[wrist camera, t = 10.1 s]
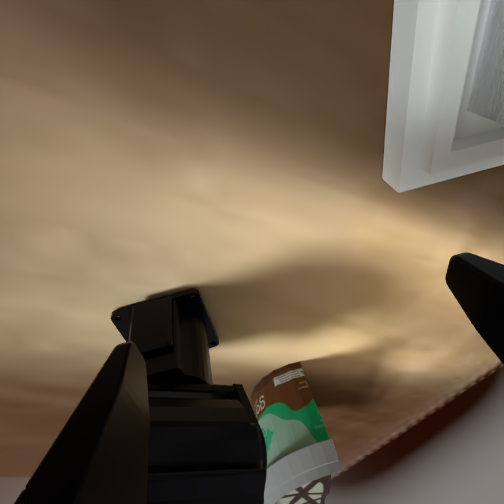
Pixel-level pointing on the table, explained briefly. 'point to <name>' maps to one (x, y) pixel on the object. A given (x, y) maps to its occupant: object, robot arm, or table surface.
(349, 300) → the table surface
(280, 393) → the food container
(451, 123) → the white rectangular tray
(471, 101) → the block
